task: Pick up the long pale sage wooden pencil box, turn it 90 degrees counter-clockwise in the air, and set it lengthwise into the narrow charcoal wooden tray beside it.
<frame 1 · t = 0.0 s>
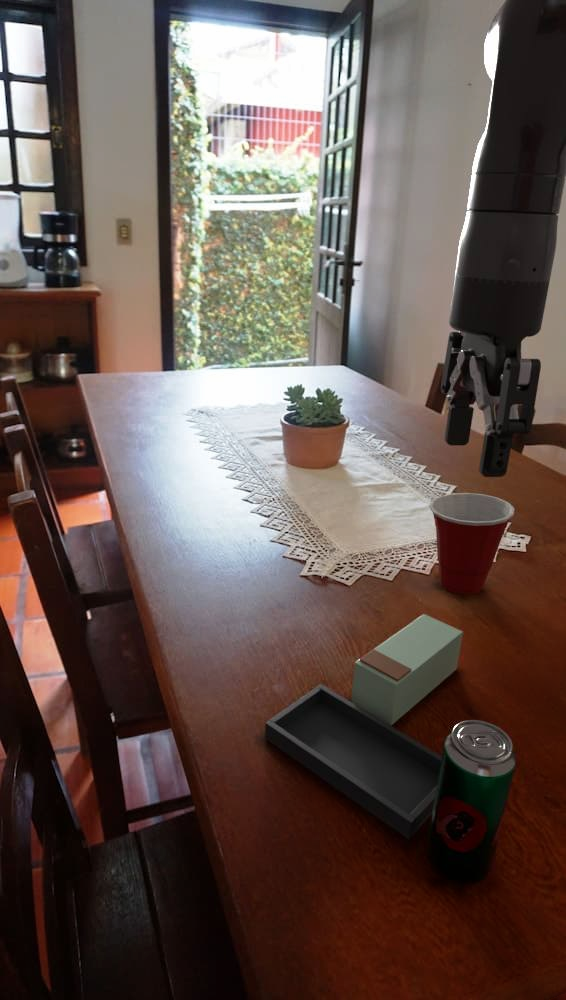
hand: (472, 458, 62), 26 cm above the table, tool pointing down, fingers open, 8 cm apart
soda can: (457, 861, 54), on the table
tray: (358, 760, 63), on the table
plastic cup: (458, 585, 94), on the table
pencil box: (405, 685, 73), on the table
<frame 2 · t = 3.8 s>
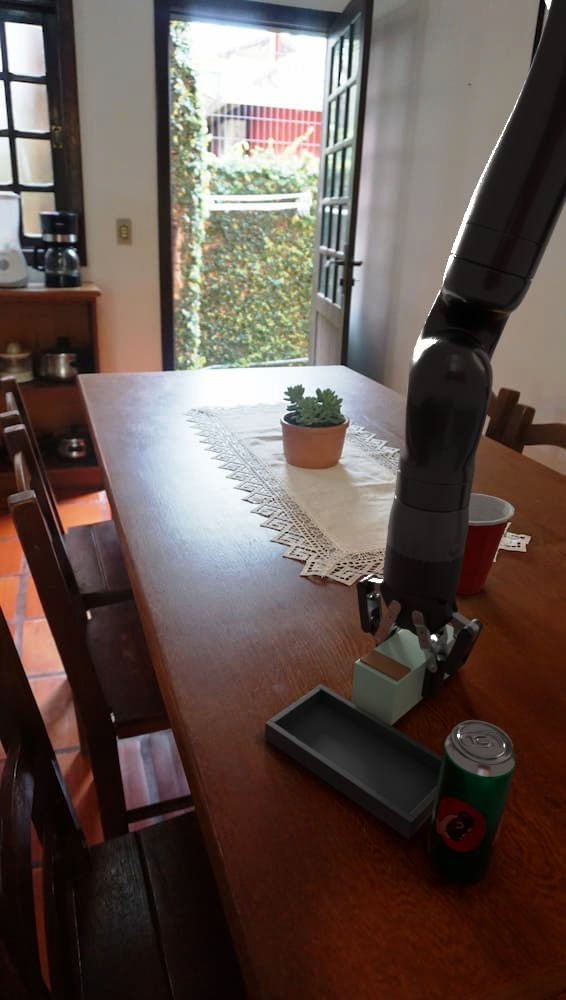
hand: (406, 681, 73), 0 cm above the table, tool pointing down, fingers closed on pencil box, 5 cm apart
pencil box: (405, 685, 73), on the table, touching gripper
everything else where it was.
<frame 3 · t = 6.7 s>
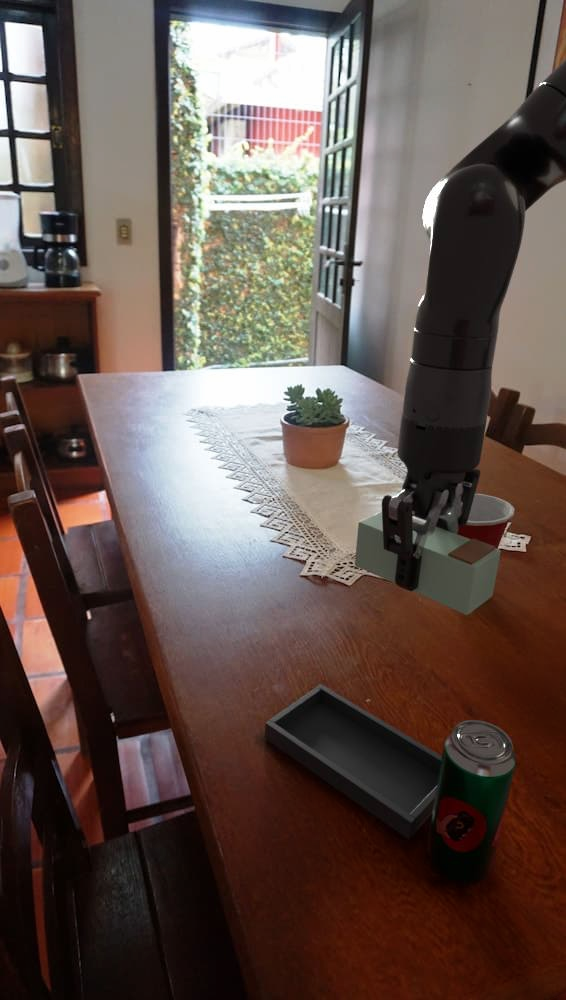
hand: (421, 576, 68), 13 cm above the table, tool pointing down, fingers closed on pencil box, 5 cm apart
pencil box: (421, 580, 68), point 13 cm above the table, touching gripper
everything else where it was.
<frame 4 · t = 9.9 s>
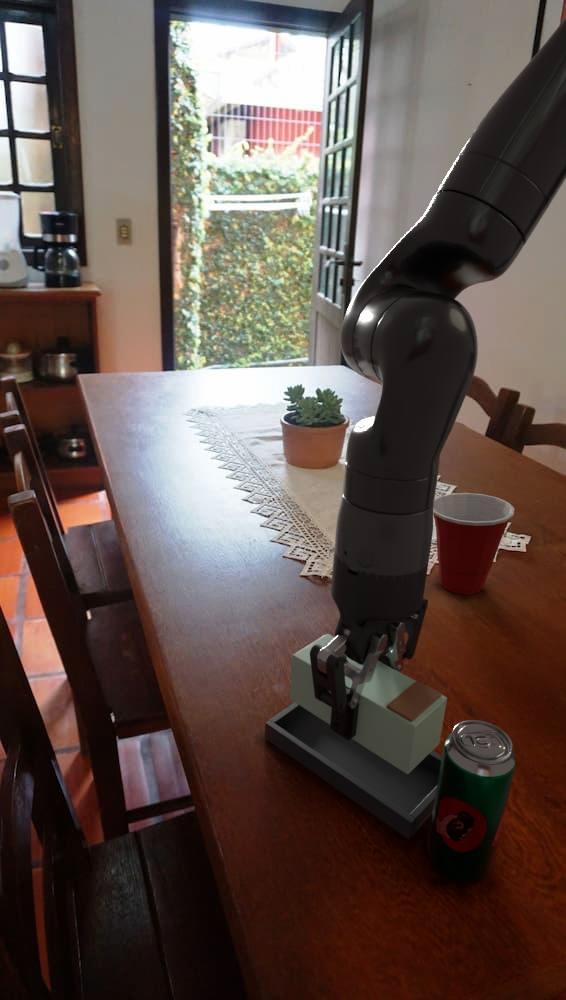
hand: (362, 717, 61), 5 cm above the table, tool pointing down, fingers closed on pencil box, 5 cm apart
pencil box: (361, 720, 61), point 5 cm above the table, touching gripper
everything else where it was.
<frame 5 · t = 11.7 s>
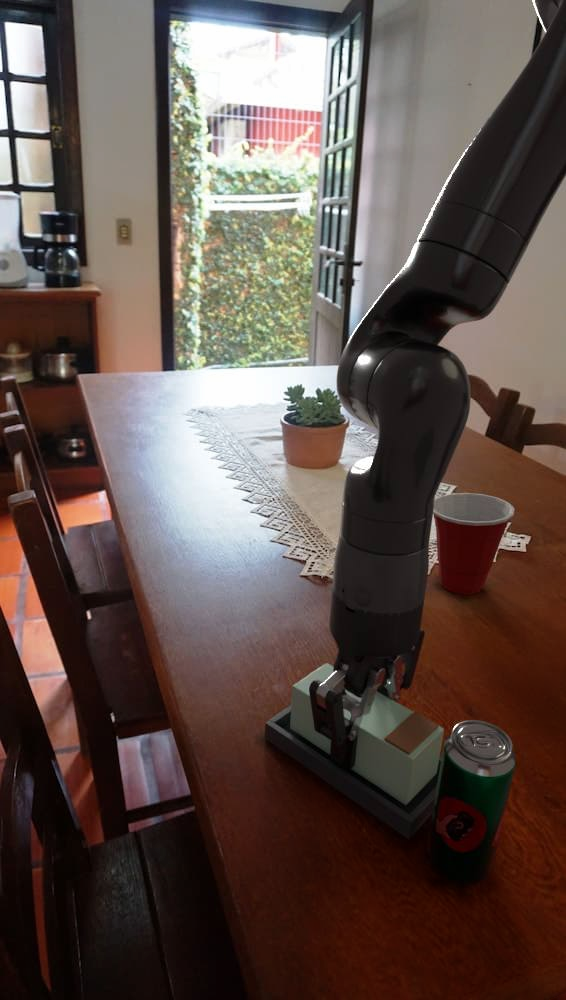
hand: (361, 746, 62), 2 cm above the table, tool pointing down, fingers closed on pencil box, 5 cm apart
pencil box: (360, 750, 62), point 1 cm above the table, touching gripper
everything else where it was.
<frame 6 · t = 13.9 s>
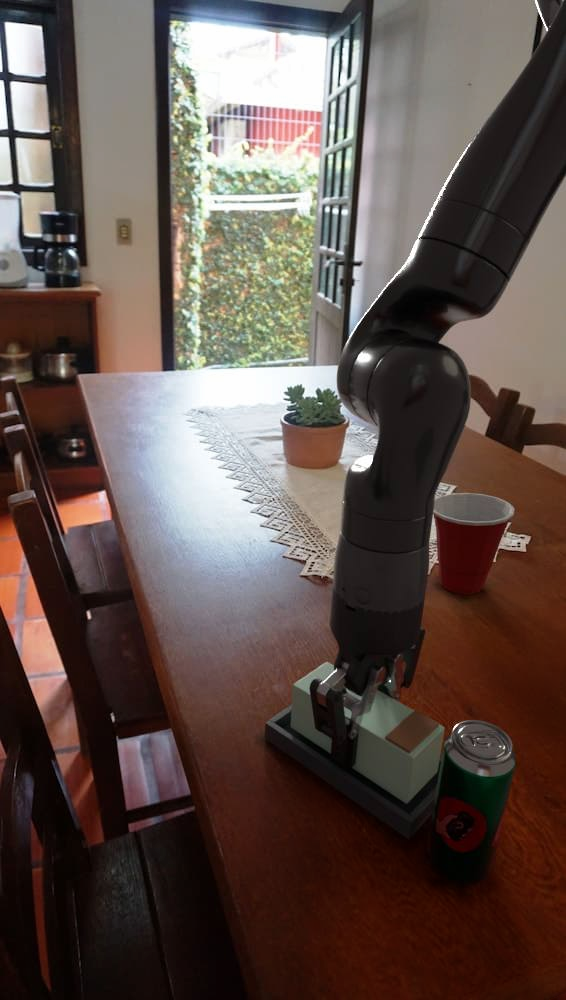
hand: (361, 745, 62), 2 cm above the table, tool pointing down, fingers closed on pencil box, 5 cm apart
pencil box: (361, 748, 62), point 1 cm above the table, touching gripper
everything else where it was.
when the fingers open (2 cm above the table, at t = 16.0 s): pencil box drops 1 cm, resting on tray.
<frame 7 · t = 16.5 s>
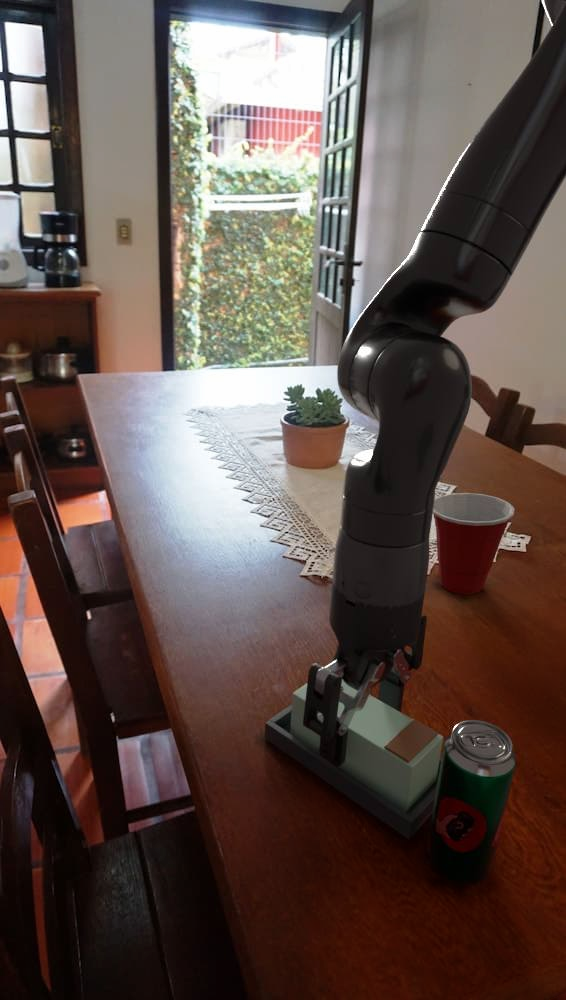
hand: (361, 735, 62), 3 cm above the table, tool pointing down, fingers open, 8 cm apart
pencil box: (360, 757, 63), resting on tray
everything else where it was.
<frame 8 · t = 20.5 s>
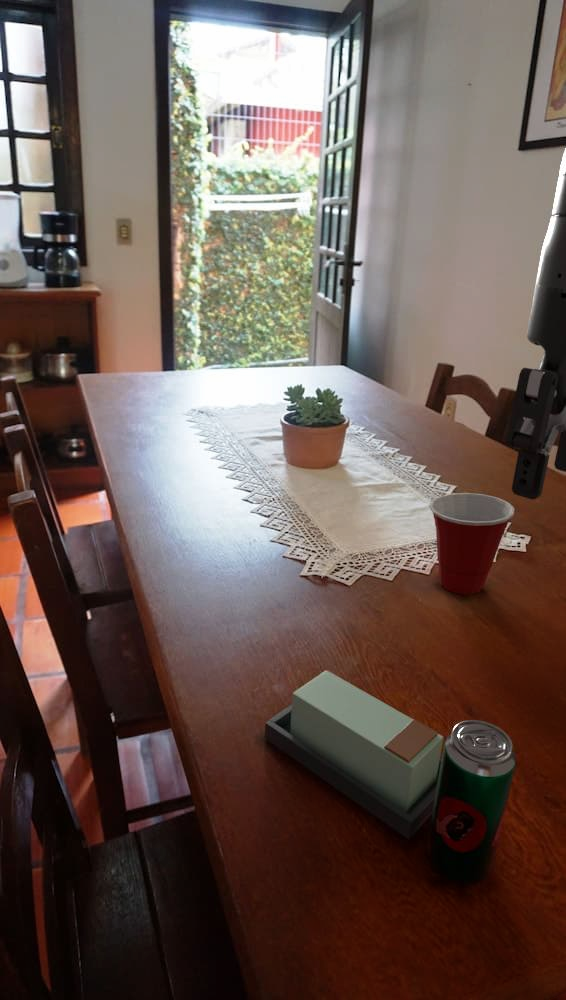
hand: (547, 482, 58), 26 cm above the table, tool pointing down, fingers open, 8 cm apart
nothing on the table moved.
at the end: pencil box 0.1 cm off-centre in the tray, point 0.4 cm above the tray's base; pencil box tilted 0°; the gripper is holding nothing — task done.
